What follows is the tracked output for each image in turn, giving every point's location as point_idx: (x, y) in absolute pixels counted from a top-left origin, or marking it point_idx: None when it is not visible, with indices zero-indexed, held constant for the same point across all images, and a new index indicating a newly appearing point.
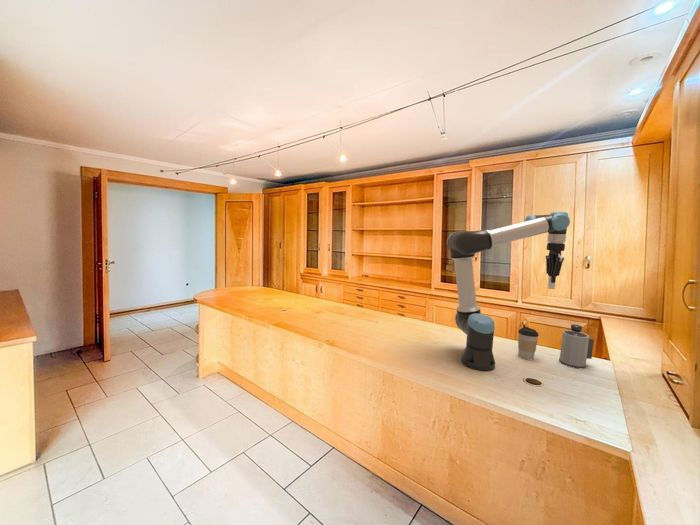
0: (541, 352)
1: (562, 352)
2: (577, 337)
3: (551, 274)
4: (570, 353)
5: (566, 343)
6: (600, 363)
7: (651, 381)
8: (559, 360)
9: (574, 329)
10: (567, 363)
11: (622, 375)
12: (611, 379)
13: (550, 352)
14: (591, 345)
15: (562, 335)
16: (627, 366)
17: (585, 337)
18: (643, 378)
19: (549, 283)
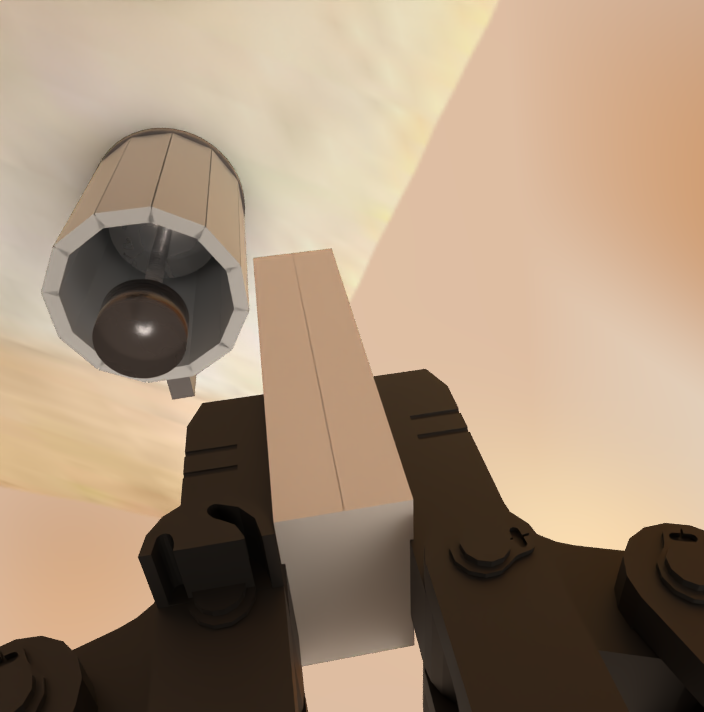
0: (321, 60)
1: (139, 154)
2: (46, 279)
3: (207, 631)
4: (84, 191)
5: (99, 191)
6: (247, 362)
7: (93, 478)
8: (172, 130)
9: (105, 301)
10: (107, 158)
11: (108, 396)
12: (9, 324)
13: (342, 134)
14: None
15: (152, 195)
16: None
17: (65, 338)
18: (116, 463)
19: (259, 335)
